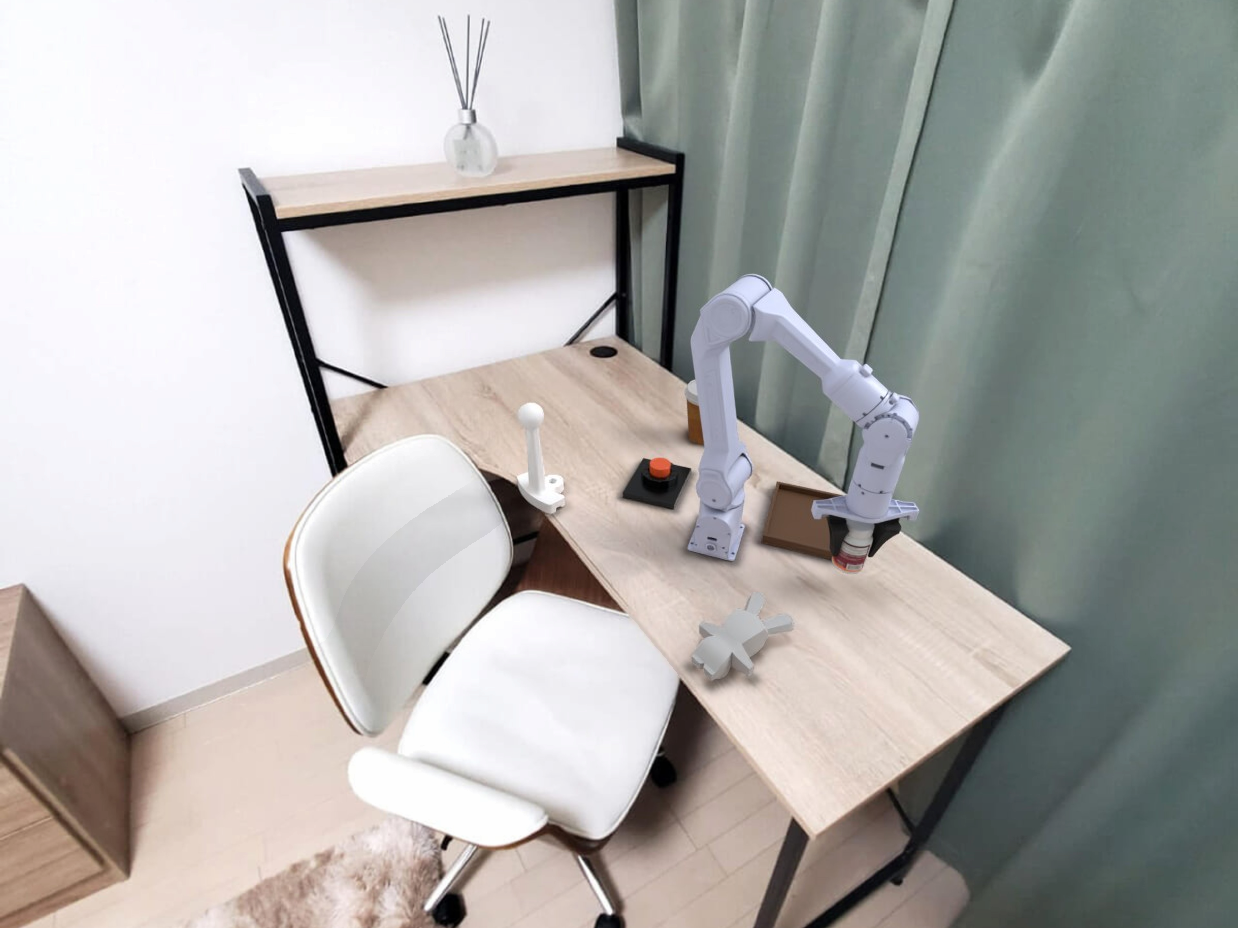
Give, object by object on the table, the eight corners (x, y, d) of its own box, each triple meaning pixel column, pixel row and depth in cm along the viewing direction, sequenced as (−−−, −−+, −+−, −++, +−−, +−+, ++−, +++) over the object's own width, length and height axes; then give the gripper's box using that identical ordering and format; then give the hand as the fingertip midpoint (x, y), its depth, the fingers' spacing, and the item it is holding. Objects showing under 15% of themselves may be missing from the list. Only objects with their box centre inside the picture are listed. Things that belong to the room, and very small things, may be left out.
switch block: (673, 510, 110) (674, 497, 108) (622, 498, 113) (622, 485, 111) (690, 473, 119) (692, 461, 117) (643, 463, 122) (643, 451, 120)
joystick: (512, 488, 115) (501, 396, 104) (545, 473, 119) (537, 382, 108) (545, 517, 108) (537, 422, 97) (579, 500, 112) (575, 407, 101)
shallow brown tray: (841, 562, 99) (843, 554, 98) (761, 542, 103) (762, 535, 102) (847, 504, 112) (849, 496, 110) (775, 488, 115) (777, 481, 114)
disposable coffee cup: (674, 441, 128) (677, 392, 121) (691, 421, 135) (695, 373, 128) (716, 453, 125) (722, 403, 118) (731, 432, 132) (738, 383, 125)
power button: (666, 479, 113) (667, 471, 112) (646, 475, 114) (646, 467, 113) (672, 468, 116) (673, 459, 115) (653, 463, 117) (653, 455, 116)
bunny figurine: (676, 635, 82) (751, 576, 89) (677, 656, 85) (749, 598, 92) (728, 683, 76) (804, 616, 83) (727, 703, 79) (800, 637, 86)
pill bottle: (838, 548, 96) (850, 507, 91) (868, 562, 93) (882, 521, 88) (826, 565, 93) (837, 524, 88) (856, 579, 90) (870, 538, 85)
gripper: (915, 465, 87) (890, 535, 95) (814, 463, 87) (797, 533, 95) (935, 495, 81) (906, 567, 89) (827, 493, 81) (807, 565, 89)
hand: (851, 552), depth 91 cm, fingers closed on pill bottle, 5 cm apart
